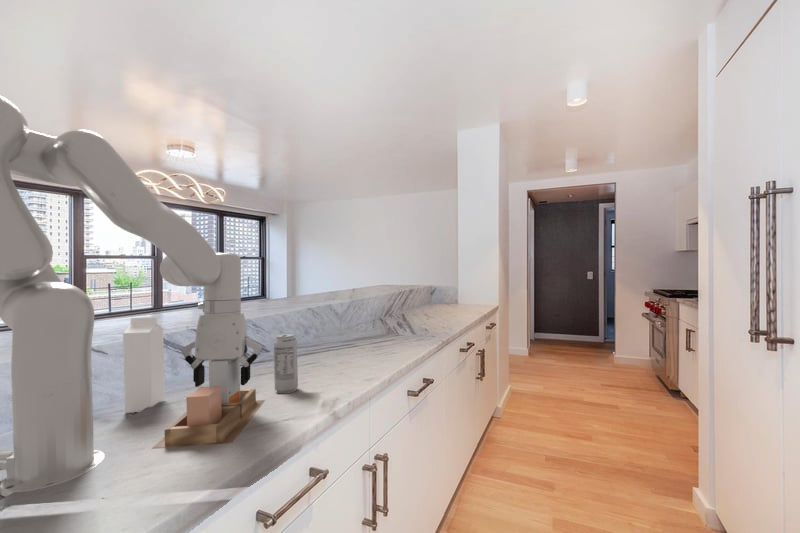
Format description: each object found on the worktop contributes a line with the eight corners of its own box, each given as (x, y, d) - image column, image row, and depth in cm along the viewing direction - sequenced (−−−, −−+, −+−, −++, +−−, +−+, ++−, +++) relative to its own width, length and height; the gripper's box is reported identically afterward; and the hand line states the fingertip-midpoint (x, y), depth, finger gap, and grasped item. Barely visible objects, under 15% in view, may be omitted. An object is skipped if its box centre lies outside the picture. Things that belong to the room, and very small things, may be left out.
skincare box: (228, 416, 80) (227, 361, 80) (209, 416, 80) (207, 361, 80) (241, 405, 86) (240, 354, 86) (223, 405, 86) (222, 354, 86)
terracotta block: (187, 439, 69) (186, 397, 69) (201, 426, 75) (200, 387, 75) (209, 438, 70) (208, 395, 70) (221, 424, 76) (220, 385, 76)
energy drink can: (301, 387, 103) (299, 333, 103) (292, 394, 97) (291, 337, 97) (280, 387, 103) (279, 333, 103) (270, 394, 97) (269, 337, 97)
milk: (151, 412, 87) (149, 318, 87) (124, 413, 87) (122, 319, 87) (165, 402, 93) (163, 315, 93) (140, 404, 93) (137, 316, 93)
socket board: (151, 454, 66) (151, 431, 66) (204, 408, 88) (204, 391, 88) (232, 449, 68) (232, 426, 68) (265, 404, 90) (264, 387, 90)
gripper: (173, 309, 79) (173, 390, 78) (257, 308, 80) (257, 388, 80) (190, 307, 86) (189, 381, 86) (266, 306, 88) (266, 378, 87)
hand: (222, 384), depth 83 cm, fingers open, 9 cm apart
